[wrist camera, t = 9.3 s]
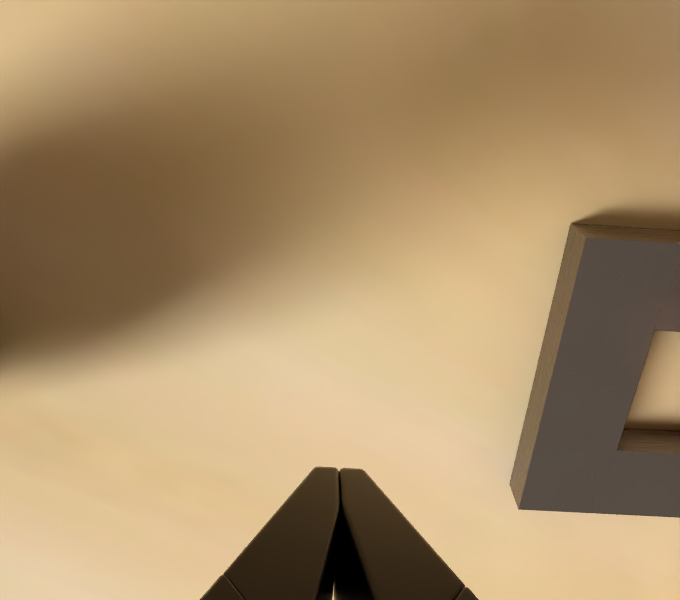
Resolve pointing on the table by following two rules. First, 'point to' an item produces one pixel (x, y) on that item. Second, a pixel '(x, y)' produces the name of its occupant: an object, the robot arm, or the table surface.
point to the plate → (602, 380)
